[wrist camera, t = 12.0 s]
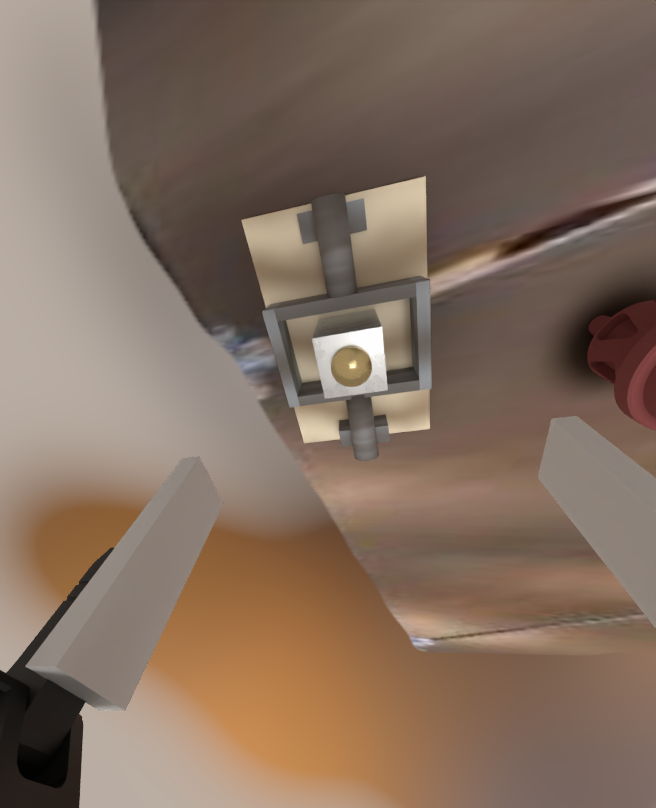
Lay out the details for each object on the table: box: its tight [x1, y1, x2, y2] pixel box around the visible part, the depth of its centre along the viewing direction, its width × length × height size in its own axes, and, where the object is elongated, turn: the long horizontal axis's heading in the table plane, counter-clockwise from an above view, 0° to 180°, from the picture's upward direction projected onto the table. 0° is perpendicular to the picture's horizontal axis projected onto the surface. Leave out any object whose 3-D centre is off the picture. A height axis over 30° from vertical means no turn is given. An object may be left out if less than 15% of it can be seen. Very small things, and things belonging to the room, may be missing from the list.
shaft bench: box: [241, 176, 431, 461], centre depth 25 cm, size 22×14×6 cm, turn 11°
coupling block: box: [312, 309, 388, 399], centre depth 24 cm, size 5×5×7 cm
